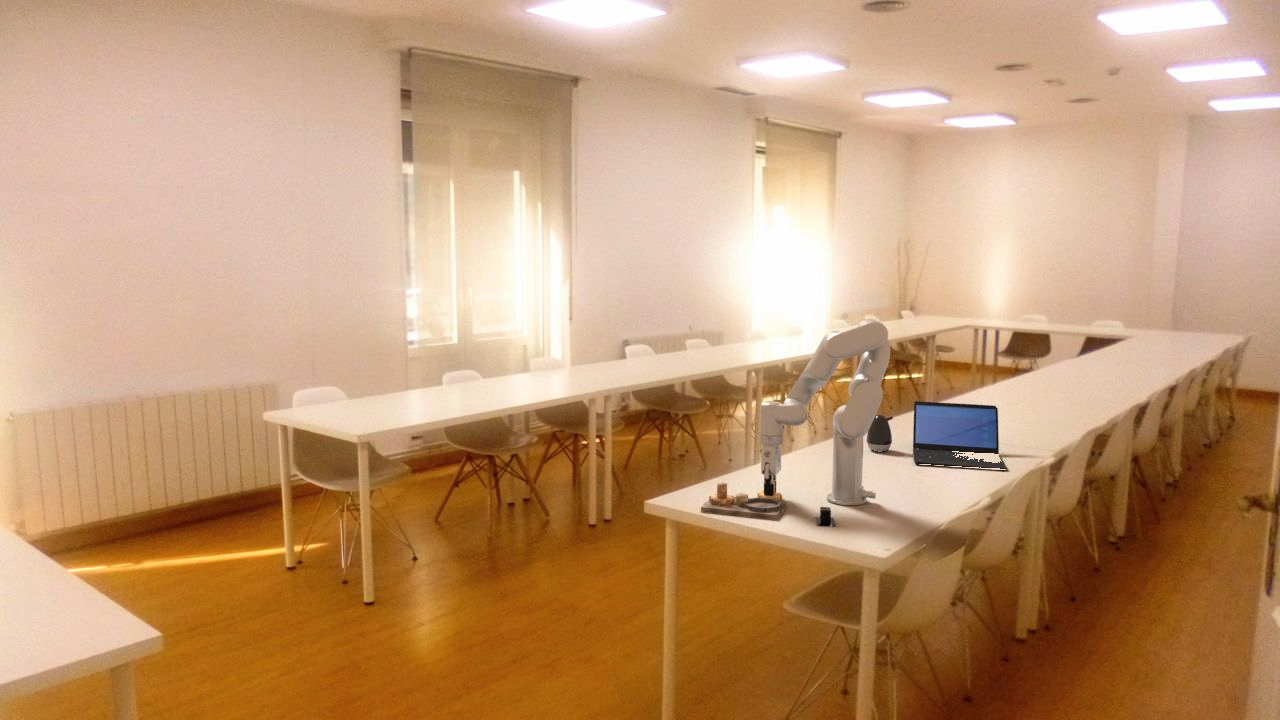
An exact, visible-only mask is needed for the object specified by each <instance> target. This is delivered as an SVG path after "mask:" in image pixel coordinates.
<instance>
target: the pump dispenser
mask: <svg viewBox="0 0 1280 720" xmlns="http://www.w3.org/2000/svg"><path fill="white" fill-rule="evenodd" d="M893 419H894V417H893V416H889V417H886V416H885V415H883V414H879V413H878V414H876V415H875V418H874V420H873V422H872V424H871V426H870V428H869V430H868V432H867V433H866V445H867V447H868V449H870V451H872V450H875V451H885V452H887V451H888V450H889V449H890V448H891V446H892V444H893V436H892V429H891V426H890V423H889V422H890V421H891V420H893ZM886 450H887V451H886ZM875 451H874V452H875Z"/></svg>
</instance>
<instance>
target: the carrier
mask: <svg viewBox="0 0 1280 720" xmlns="http://www.w3.org/2000/svg"><path fill="white" fill-rule="evenodd" d="M708 498H709V499H708V500H707V501H706V502H705V503H704V504H702V505H701V506H700V512H701V511H703V512H702V513H708V512H712V513H711V514H717V513H719V514H718V515H729V516H737V517H745V518H755V519H762V520H772V521H778V519H779V518H780V516H781V515H782V514H783V513H784V511H785V510H786V508H787V505H788V504H787V501H781V500H780V501H777V500H775V499H771V498H761V497H760V498H758V496H757V497H752V498H751V497H749V494H747V493H744V492H743V493H736V494H735V496H734V495H730V494H728V483H726V482H718V483H716V494H712V495H709V497H708Z"/></svg>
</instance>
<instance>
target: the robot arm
mask: <svg viewBox="0 0 1280 720" xmlns="http://www.w3.org/2000/svg"><path fill="white" fill-rule="evenodd" d="M888 337H889V331H888V328H887V327H886V325H884V323H882V322H880V321H877V320H876V319H871V318H870V319H869V318H868V319H864V320H863V319H862V321H860V322H859V323H858V325H857V326H856V327H854V328H850V329H847V330H844V331H840V330H830V331H828V332H827V333H826V334H825V335H824V336H823V337H822V339H821V341H820V343H819V344H818V346H817V347H816V350H815V351H814V353H813V355H812V357H811V358H810V360H809V361H808V363H807V365H806V367H805V368H804V370H803V371H802V373H801V374H800V376H799V377H798V379H797V380H796V381H795V383H794V384H793V386H792V388H791V389H790V390H789V393H788V394H787V396H786V398H785V400H784V402H783V403H781V402H779V401H772V400H767V401H763V402H761V403H760V404H759V405H760V406H759V427H758V428H759V429H758V430H759V432H758V433H759V434H758V435H759V437H758V439H759V440H758V444H759V445H761V457H760V458H761V459H760V460H761V462H760V464H761V465H760V470H761V471H760V473H761V475H763V491H764V495H766V496H773V495H774V484H773V480H774V481H775V493H776V492H777V475H778V474H779V473H780V472H781V470H782V448H781V447H782V445H783V433H784V431H783V429H784V427H783V426H789V427H799V426H802V425H803V424H805V423H806V421H807V420H808V410H807V407H808V406H809V404H810V403H811V400H812V399H813V398H814V396H815V395H816V393H817V392H819V390H820V389H822V388H823V387H825V386H826V385H827V384H828V382H830V380H831V378H832V377H833V376H834V373H835V371H836V370H837V368H838V366H839V365H840V362H841V361H842V360H845V359H849V358H852V357H856V356H859V355H861V354H862V355H861V359H860V361H859V364H858V366H857V368H856V371H855V372H854V374H853V377H852V378H851V381H850V382H849V385H848V390H847V392H848V395H849V399H848V401H847V403H846V404H843V405H841V406H839V407H838V408H837V409H836V410H835V412H834V414H833V417H832V436H833V438H832V439H833V441H832V446H833V447H832V476H831V477H832V479H831V481H832V482H831V486H832V487H831V492H830V493H828V494H827V495H826V499H827V501H828V502H830V503H831V504H837V505H840V506H841V505H843V506H861V505H864V504H865V503H867V498H869V499H876V497H877V496H876V494H877V493H876V492H873V490H866V489H865V488H864V485H863V464H864V463H863V462H864V460H863V459H864V436H867V433H868V430H869V428H870V426H871V424H872V422H873V420H874V418H875V416H876V415H877V414H878V411H879V409H880V407H881V404H882V402H883V397H884V390H883V387H882V386H881V383H882V382H883V381H882V380H883V378H884V376H885V373H886V372H887V368H888V365H889V362H890V360H891V359H890V358H891V345H890V341H889V338H888Z"/></svg>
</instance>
